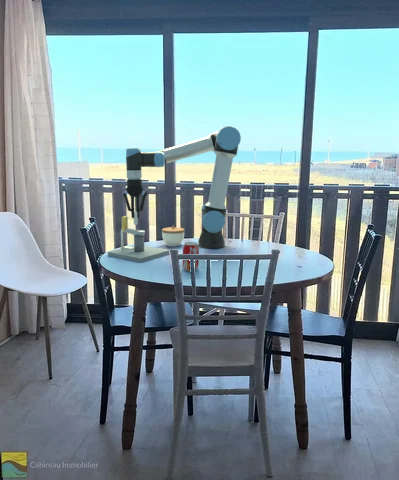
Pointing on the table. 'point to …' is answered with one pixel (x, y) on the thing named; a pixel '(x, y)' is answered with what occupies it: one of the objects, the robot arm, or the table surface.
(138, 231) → the crank handle
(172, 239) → the lidded bowl
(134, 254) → the post board
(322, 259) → the table surface
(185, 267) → the soda can
